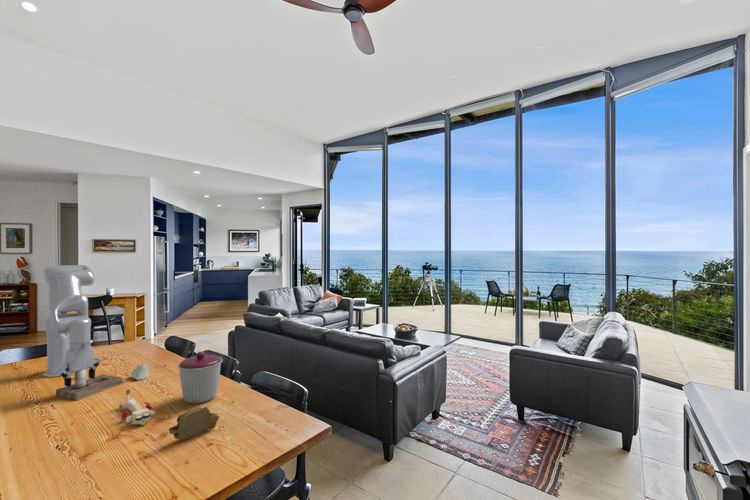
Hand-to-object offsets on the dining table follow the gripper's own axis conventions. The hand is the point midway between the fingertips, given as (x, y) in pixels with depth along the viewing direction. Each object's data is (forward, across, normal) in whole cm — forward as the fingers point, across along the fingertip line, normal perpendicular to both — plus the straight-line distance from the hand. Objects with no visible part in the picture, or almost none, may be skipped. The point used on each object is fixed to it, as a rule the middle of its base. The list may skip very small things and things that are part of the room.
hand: (80, 382), depth 158 cm
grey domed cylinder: (+5, 0, 0) cm, 5 cm away
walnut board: (+5, -4, 0) cm, 7 cm away
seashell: (+6, -23, +8) cm, 24 cm away
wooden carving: (+6, +12, +80) cm, 81 cm away
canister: (+5, -12, +58) cm, 60 cm away
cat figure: (+6, +8, +45) cm, 46 cm away
